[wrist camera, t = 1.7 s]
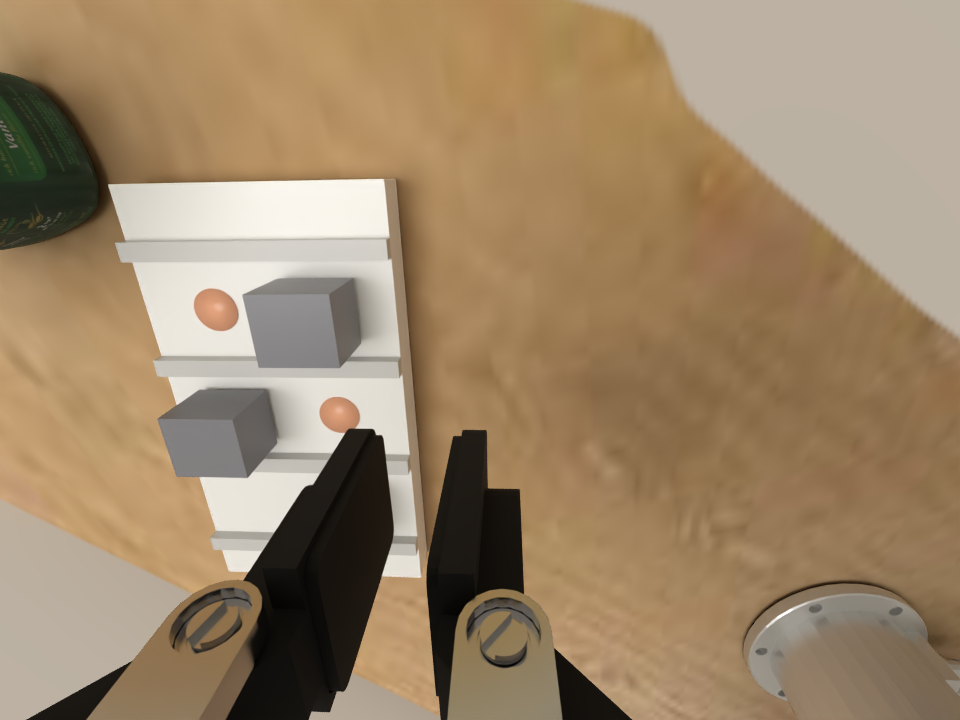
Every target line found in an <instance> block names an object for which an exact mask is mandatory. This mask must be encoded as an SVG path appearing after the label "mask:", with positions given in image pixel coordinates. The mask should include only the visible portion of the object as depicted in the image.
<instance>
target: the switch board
mask: <svg viewBox="0 0 960 720" xmlns="http://www.w3.org/2000/svg"><path fill="white" fill-rule="evenodd" d="M108 186H109V189H110V192H111V196H112V199H113V202H114V205H115V208H116V212H117V215H118V218H119V221H120V224H121V228H122V231H123V234H124V237H125V240H126V241H122V242H116V243H115V245H116V248H117V251H118V254H119V257H120V260H121V262H132V263H133V266H134V269H135V272H136V276H137V279H138V282H139V285H140V288H141V292H142V295H143V298H144V301H145V304H146V308H147V311H148V314H149V317H150V320H151V324H152V327H153V330H154V333H155V336H156V340H157V343H158V346H159V349H160V352H161V357H159V358H157V359H155V360H153V363H154V366H155V369H156V372H157V375H158V377H168V378H169V381H170V384H171V388H172V391H173V394H174V397H175V400H176V404H177V405H178V404H179V403H181V402H182V401H184V400H185V399H186V398H188V397H189V396H191V395H192V394H194V393H195V392H196V391H198V390H266V394H267V399H268V403H269V408H270V412H271V417H272V421H273V426H274V430H275V435H276V439H277V444H276V445H275V447H274V448H273V449H272V450H271V451H270V452H269V454H268V455H267V456H266V457H265V458H264V460H263V461H262V462H261V463H260V464H259V465H258V467H257V468H256V469H255V470H254V471H253V472H252V474H251V475H250V476H249V477H248V478H221V477H200V480H201V484H202V487H203V490H204V493H205V496H206V500H207V503H208V506H209V509H210V512H211V516H212V519H213V522H214V525H215V528H216V532H215V533H214V534H213V535H212V537H211V538H210V540H211V543H212V546H213V549H214V550H222V551H223V554H224V557H225V560H226V563H227V567H228V570H229V571H237V572H249V571H250V569H251V568H252V566H253V565H254V563H255V562H256V560H257V559H258V557H259V555H260V554H261V552H262V551H263V549H264V548H265V546H266V545H267V543H268V542H269V540H270V538H271V537H272V535H273V534H274V532H275V531H276V529H277V528H278V526H279V525H280V523H281V522H282V520H283V518H284V517H285V515H286V514H287V512H288V511H289V509H290V508H291V506H292V505H293V503H294V502H295V500H296V498H297V497H298V495H299V494H300V492H301V491H302V490H303V489H304V487H305V486H308V485H313V484H314V482H315V481H316V479H317V477H318V476H319V474H320V473H321V471H322V469H323V468H324V466H325V465H326V463H327V461H328V460H329V458H330V457H331V455H332V453H333V452H334V450H335V449H336V447H337V445H338V444H339V442H340V441H341V439H342V437H343V436H344V434H345V433H346V431H347V430H348V429H350V428H355V429H374V430H375V433H376V435H382V436H383V439H384V446H385V454H386V463H387V471H388V480H389V488H390V497H391V505H392V514H393V522H394V536H393V541H392V545H391V548H390V551H389V555H388V558H387V561H386V564H385V567H384V571H383V574H382V576H389V577H419V578H421V576H422V571H423V566H424V562H425V557H426V552H427V545H426V533H425V521H424V509H423V497H422V485H421V473H420V461H419V449H418V437H417V425H416V413H415V401H414V389H413V377H412V365H411V353H410V341H409V329H408V317H407V305H406V293H405V281H404V269H403V257H402V245H401V233H400V221H399V209H398V197H397V185H396V179H346V180H295V181H244V182H193V183H143V184H108ZM279 278H353V282H354V290H355V297H356V305H357V313H358V321H359V329H360V337H361V344H360V346H359V347H358V348H357V349H356V350H355V351H354V353H353V354H352V355H351V356H350V357H349V358H348V360H347V361H346V362H345V363H344V364H343V365H342V367H341V368H259V367H258V363H257V358H256V354H255V349H254V345H253V341H252V336H251V332H250V327H249V323H248V318H247V314H246V310H245V305H244V301H243V296H242V295H243V294H245V293H247V292H249V291H251V290H254V289H256V288H258V287H260V286H262V285H265V284H267V283H269V282H271V281H273V280H276V279H279Z"/></svg>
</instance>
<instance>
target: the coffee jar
mask: <svg viewBox="0 0 960 720" xmlns="http://www.w3.org/2000/svg"><path fill="white" fill-rule="evenodd" d="M98 196H99V188H98V181H97V177H96V174H95V171H94V168H93V165H92V162H91V159H90V157H89V155H88V153H87V151H86V149H85V147H84V145H83V143H82V141H81V139H80V137H79V136H78V134H77V133H76V131H75V129H74V128H73V126H72V125H71V123H70V122H69V120H68V119H67V118H66V117H65V115H64V114H63V113H62V112H61V110H60V109H59V108H58V107H57V105H56V104H55V103H54V102H53V101H52V100H51V99H50V98H49V97H48V96H47V95H46V94H45V93H44V92H43V91H42V90H40V89H39V88H38V87H36V86H35V85H33V84H32V83H30V82H28V81H27V80H25V79H23V78H20V77H17V76H14V75H11V74H6V73H1V72H0V250H4V249H10V248H16V247H21V246H26V245H30V244H34V243H38V242H41V241H44V240H47V239H49V238H52V237H55V236H57V235H60V234H62V233H65V232H67V231H68V230H70V229H72V228H74V227H76V226H77V225H78V224H81V223H82V222H83V221H85V220H86V219H88V218H89V217H90V216H91V215H92V213H93V212H94V211H95V209H96V207H97V205H98Z"/></svg>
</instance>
